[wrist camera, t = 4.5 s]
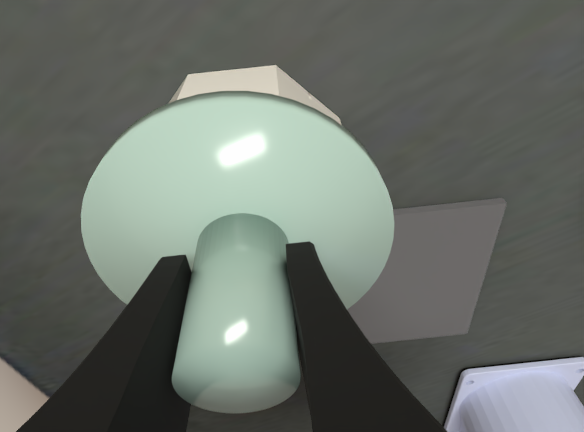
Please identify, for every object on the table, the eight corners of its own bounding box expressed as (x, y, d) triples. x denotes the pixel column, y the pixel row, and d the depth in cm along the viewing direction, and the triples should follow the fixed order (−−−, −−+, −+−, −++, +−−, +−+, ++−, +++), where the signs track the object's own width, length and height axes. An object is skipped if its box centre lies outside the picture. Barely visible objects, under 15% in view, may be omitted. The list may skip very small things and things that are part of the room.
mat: (464, 327, 23) (467, 333, 22) (323, 342, 22) (324, 348, 22) (502, 198, 17) (507, 203, 17) (316, 217, 17) (317, 223, 17)
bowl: (339, 224, 17) (355, 283, 15) (180, 240, 17) (164, 303, 15) (337, 58, 13) (358, 98, 10) (125, 80, 13) (90, 126, 10)
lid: (390, 300, 14) (438, 441, 10) (160, 339, 15) (126, 487, 11) (381, 57, 9) (469, 161, 5) (25, 129, 10) (-130, 272, 6)
